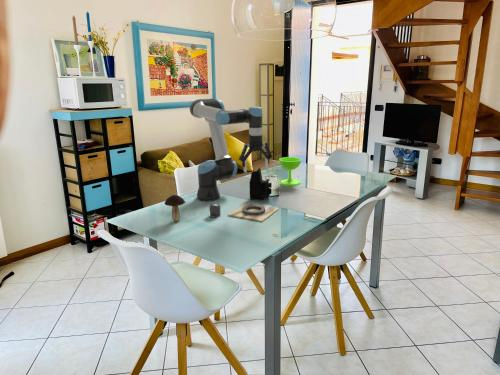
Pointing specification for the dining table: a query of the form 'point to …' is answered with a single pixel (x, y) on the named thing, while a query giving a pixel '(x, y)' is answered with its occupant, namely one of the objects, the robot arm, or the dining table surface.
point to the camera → (259, 186)
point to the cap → (215, 210)
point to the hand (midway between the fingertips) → (255, 171)
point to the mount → (253, 212)
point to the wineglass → (290, 164)
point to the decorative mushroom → (175, 206)
